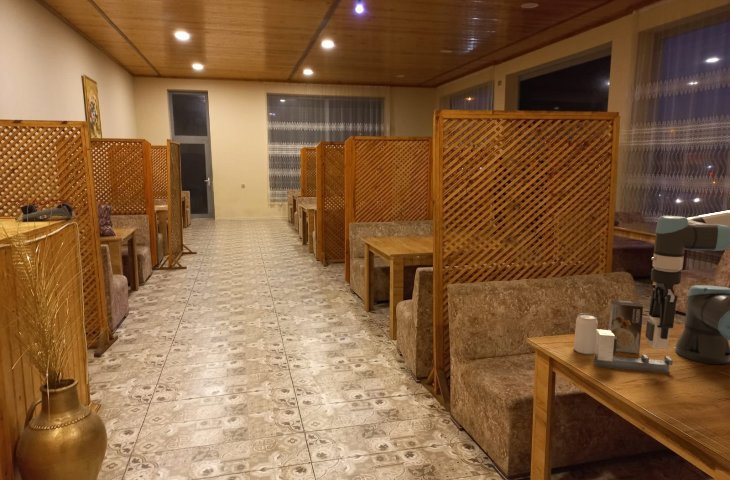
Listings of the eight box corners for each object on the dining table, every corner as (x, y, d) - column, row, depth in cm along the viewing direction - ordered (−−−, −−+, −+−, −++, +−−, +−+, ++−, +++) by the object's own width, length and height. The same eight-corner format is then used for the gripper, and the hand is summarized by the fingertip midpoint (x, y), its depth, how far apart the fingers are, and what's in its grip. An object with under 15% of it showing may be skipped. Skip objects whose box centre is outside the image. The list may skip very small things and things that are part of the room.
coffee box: (636, 347, 170) (641, 301, 167) (639, 354, 164) (644, 306, 161) (606, 343, 173) (610, 298, 171) (608, 350, 167) (612, 303, 165)
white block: (661, 343, 153) (664, 318, 152) (667, 349, 148) (670, 323, 147) (644, 341, 154) (647, 316, 153) (649, 347, 149) (652, 321, 148)
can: (597, 355, 163) (600, 319, 161) (576, 353, 164) (578, 318, 162) (592, 348, 169) (595, 313, 167) (572, 346, 170) (574, 312, 168)
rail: (666, 367, 154) (669, 334, 152) (672, 374, 149) (676, 340, 147) (593, 361, 158) (596, 329, 156) (597, 367, 153) (600, 334, 152)
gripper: (642, 262, 157) (634, 333, 160) (663, 275, 139) (654, 355, 143) (669, 263, 155) (660, 335, 159) (694, 276, 138) (683, 357, 141)
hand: (657, 344), depth 151 cm, fingers closed on white block, 5 cm apart
